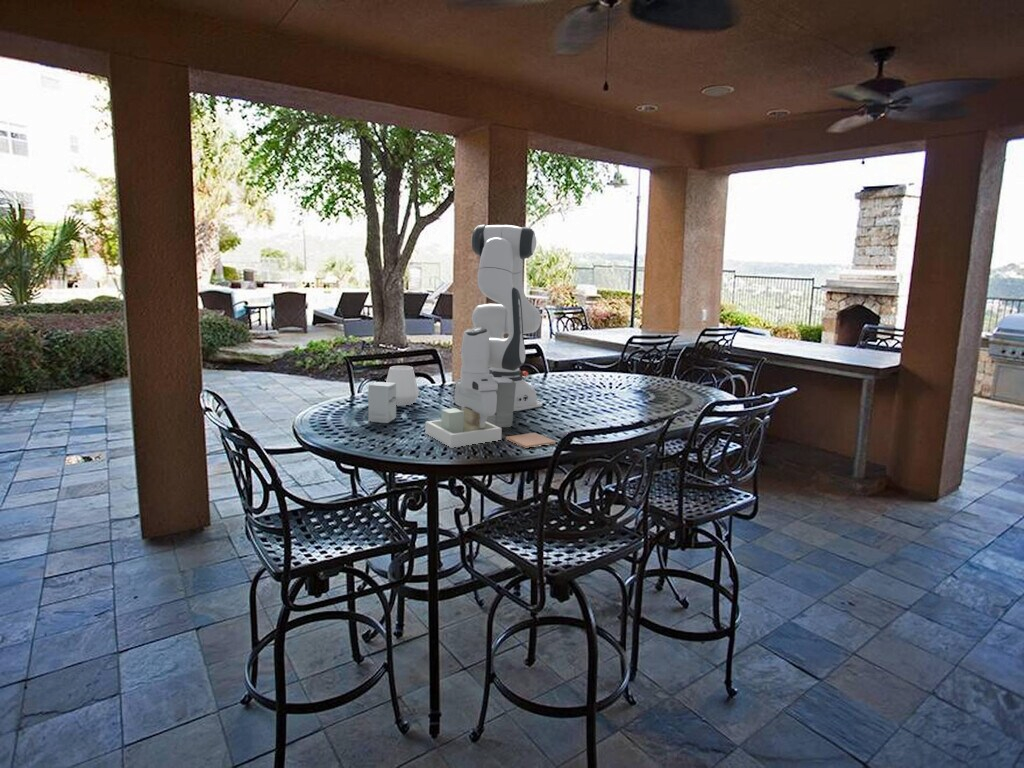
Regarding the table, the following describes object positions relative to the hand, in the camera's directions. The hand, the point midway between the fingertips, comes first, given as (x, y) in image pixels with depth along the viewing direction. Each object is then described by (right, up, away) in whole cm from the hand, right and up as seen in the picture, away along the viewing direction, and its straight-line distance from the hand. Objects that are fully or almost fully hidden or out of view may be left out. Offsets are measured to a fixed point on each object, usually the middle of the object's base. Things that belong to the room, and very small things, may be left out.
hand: (473, 423), depth 195 cm
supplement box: (-32, 0, +17) cm, 36 cm away
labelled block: (0, -4, +1) cm, 4 cm away
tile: (+18, -5, -4) cm, 19 cm away
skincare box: (+8, -2, +16) cm, 18 cm away
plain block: (-6, -4, -3) cm, 8 cm away
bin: (-3, -4, -1) cm, 5 cm away
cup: (-30, +5, +43) cm, 52 cm away
